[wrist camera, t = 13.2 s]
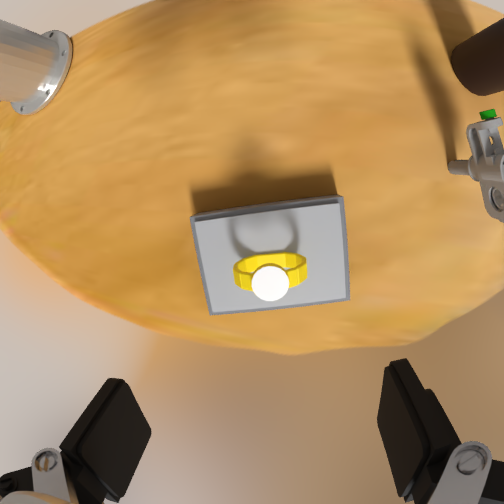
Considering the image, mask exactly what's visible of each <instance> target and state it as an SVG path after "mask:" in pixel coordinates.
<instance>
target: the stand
mask: <svg viewBox="0 0 504 504" xmlns="http://www.w3.org/2000/svg"><path fill="white" fill-rule="evenodd" d="M190 222H191V227H192V232H193V238H194V243H195V248H196V253H197V258H198V263H199V268H200V273H201V277H202V282H203V287H204V291H205V296H206V301H207V305H208V309H209V314H210V315H221V314H233V313H245V312H256V311H266V310H275V309H285V308H294V307H302V306H310V305H318V304H326V303H333V302H341V301H348V300H350V282H349V261H348V245H347V231H346V220H345V209H344V199H343V196H340V195H328V196H319V197H311V198H302V199H294V200H286V201H278V202H270V203H263V204H256V205H248V206H241V207H235V208H228V209H221V210H215V211H208V212H202V213H197V214H195V215H193V216H191V217H190ZM282 252H291V253H297V254H300V255H302V256H304V257H306V260H307V279H305V280H304V281H303V282H302V283H300V284H299V285H297V286H294V287H291V288H288V291H287V293H286V294H285V295H284V296H283V297H282V298H280V299H278V300H275V301H265V300H262V299H260V298H259V297H257V296H256V295H255V293H254V292H253V291H249V290H244V289H241V288H240V287H239V286H237V285H236V284H235V281H234V274H233V266H234V264H235V263H236V262H238V261H239V260H241V259H244V258H246V257H249V256H252V255H259V254H271V253H282ZM284 269H285V270H287V269H290V268H287V267H284ZM253 272H254V271H253ZM253 272H250V273H253Z"/></svg>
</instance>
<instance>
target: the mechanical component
mask: <svg viewBox="0 0 504 504" xmlns="http://www.w3.org/2000/svg"><path fill="white" fill-rule="evenodd" d="M479 113H480V116H481V119H482V120H484V119H485V120H484V121H481V122H477V123H474V124H470V125H469V126H468V127H467V130H466V134H467V139H468V142H469V145H470V148H471V152H472V156H471V157H470V158H469V160H455V161H450V162H449V163H448V170H449V172H450V173H451V174H458V175H470V177H471V178H472V179H473V180H474V181H478V182H479V181H480V186H481V190H482V195H483V200H484V204H485V208H486V210H487V212H488V214H489V215H490V216H491V217H493V218H495V219H498V220H499V221H500V222H503V223H504V149H503V145H502V142H501V138H500V135H499V132H498V128H497V127H498V126H501V125H503V122H502V119H501V117H498V118H494V117H496V116H497V115H496V112H495V109H491V110H487V111H483V112H479ZM489 136H490V137H491V138H492V140H493V144H492V145H491V142H490V139H489Z"/></svg>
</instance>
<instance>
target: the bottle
mask: <svg viewBox="0 0 504 504" xmlns="http://www.w3.org/2000/svg"><path fill="white" fill-rule="evenodd" d="M451 58H452V65H453V68H454V71H455V73H456V75H457V77H458V79H459V80H460V82H461V83H462V84H463V85H464V86H465V88H467V89H468V90H469V91H470V92H472V93H474V94H476V95H479V96H486V95H490V94H493V93H497V92H500V91H504V18H503V19H501V20H499V21H498V22H496V23H494V24H492V25H491V26H489V27H487V28H486V29H484V30H482V31H481V32H479V33H477V34H476V35H474V36H472V37H471V38H469V39H467V40H466V41H464V42H463V43H461V44H459V45H458V46H456V48H455V49H454V50H453V52H452V57H451Z"/></svg>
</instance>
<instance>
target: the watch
mask: <svg viewBox="0 0 504 504" xmlns="http://www.w3.org/2000/svg"><path fill="white" fill-rule="evenodd" d="M284 267H287V268H290V269H287V270H285V269H284ZM253 271H254V272H253ZM250 272H253V273H250ZM233 274H234V281H235V284H236V285H237V286H239V287H240V288H241V289H244V290H249V291H253V292H254V293H255V295H256V296H257V297H259V298H260V299H262V300H265V301H275V300H278V299H280V298H282V297H283V296H284V295H285V294H286V293H287V291H288V288H291V287H294V286H297V285H299V284H300V283H302V282H303V281H304V280H305V279H307V260H306V257H304V256H302V255H300V254H297V253H291V252H282V253H271V254H259V255H252V256H249V257H246V258H244V259H241V260H239V261H238V262H236V263H235V264H234V266H233Z"/></svg>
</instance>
